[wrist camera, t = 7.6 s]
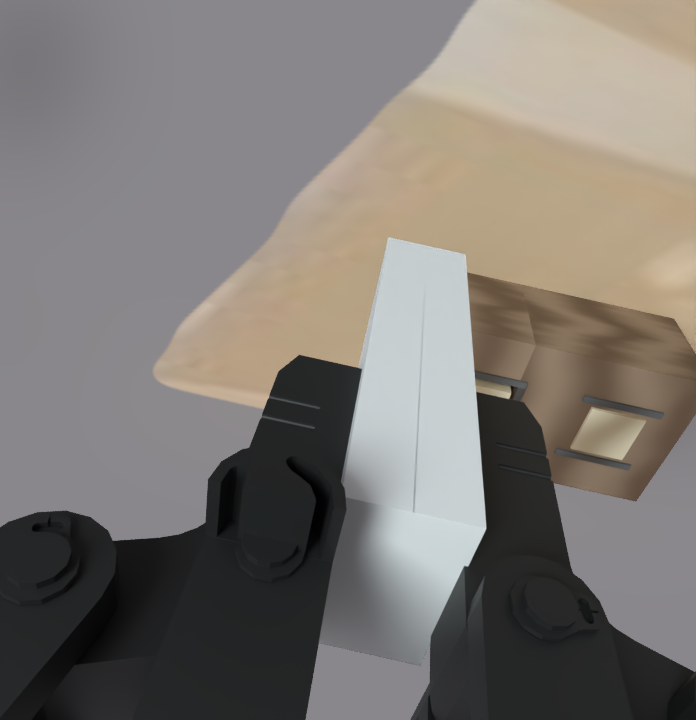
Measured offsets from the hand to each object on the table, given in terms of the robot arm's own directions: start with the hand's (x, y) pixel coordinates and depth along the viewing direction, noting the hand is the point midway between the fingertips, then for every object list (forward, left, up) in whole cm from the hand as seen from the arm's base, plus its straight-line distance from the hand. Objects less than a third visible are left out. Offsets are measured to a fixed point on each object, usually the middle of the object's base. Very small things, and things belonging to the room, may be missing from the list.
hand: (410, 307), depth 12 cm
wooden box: (-14, +21, -34) cm, 43 cm away
